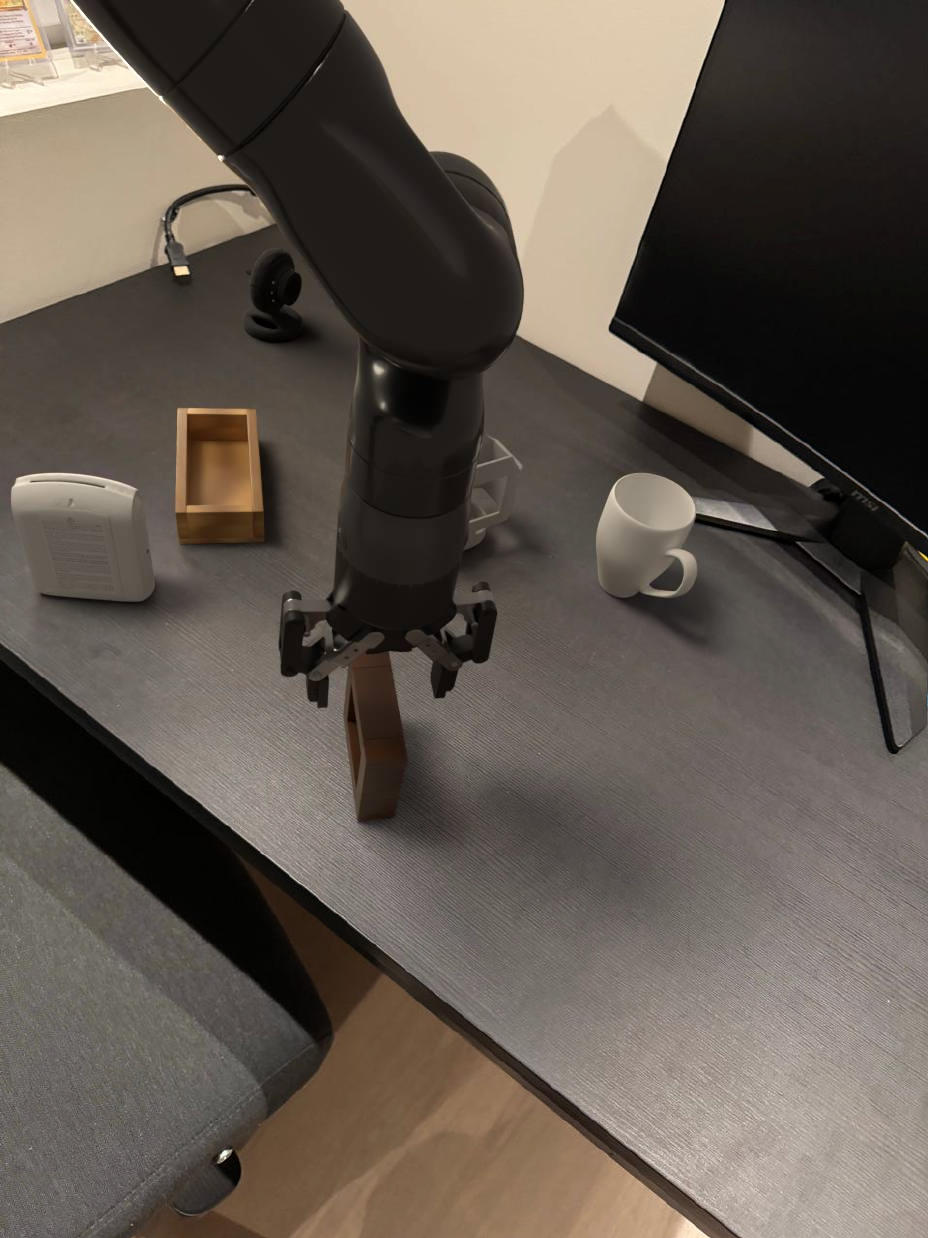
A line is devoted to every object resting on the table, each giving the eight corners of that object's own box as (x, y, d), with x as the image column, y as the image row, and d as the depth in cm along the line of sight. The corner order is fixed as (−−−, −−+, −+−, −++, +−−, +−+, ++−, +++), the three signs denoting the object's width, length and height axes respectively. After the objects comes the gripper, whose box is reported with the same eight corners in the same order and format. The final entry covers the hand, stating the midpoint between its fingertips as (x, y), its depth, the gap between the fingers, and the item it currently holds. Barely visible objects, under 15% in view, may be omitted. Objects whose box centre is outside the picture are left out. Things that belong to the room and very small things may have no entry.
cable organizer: (508, 541, 89) (533, 450, 80) (407, 577, 83) (423, 484, 74) (473, 502, 92) (494, 410, 83) (374, 534, 86) (385, 439, 77)
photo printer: (160, 572, 78) (144, 468, 69) (151, 607, 76) (133, 503, 66) (43, 563, 77) (11, 456, 68) (29, 598, 74) (-7, 491, 65)
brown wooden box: (357, 822, 65) (365, 762, 59) (343, 715, 72) (349, 649, 65) (395, 818, 66) (408, 758, 59) (378, 712, 72) (388, 647, 66)
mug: (564, 563, 88) (595, 480, 80) (628, 547, 91) (664, 464, 83) (627, 649, 82) (667, 568, 73) (693, 627, 85) (739, 547, 77)
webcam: (280, 350, 105) (280, 273, 97) (230, 328, 106) (226, 251, 99) (314, 324, 110) (316, 249, 102) (265, 303, 111) (264, 228, 104)
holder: (179, 544, 81) (175, 512, 78) (180, 439, 91) (177, 407, 88) (264, 542, 83) (263, 511, 80) (257, 439, 93) (256, 408, 90)
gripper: (502, 489, 54) (463, 647, 66) (273, 493, 50) (276, 659, 62) (532, 576, 49) (484, 728, 61) (282, 587, 45) (283, 746, 58)
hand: (379, 693), depth 62 cm, fingers open, 8 cm apart
